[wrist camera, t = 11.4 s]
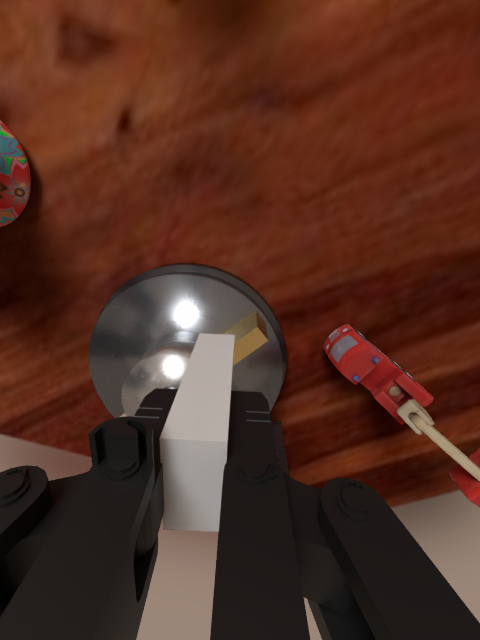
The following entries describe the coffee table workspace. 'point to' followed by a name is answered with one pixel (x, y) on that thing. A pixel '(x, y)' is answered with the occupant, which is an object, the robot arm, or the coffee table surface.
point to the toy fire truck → (398, 398)
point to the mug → (12, 177)
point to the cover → (158, 368)
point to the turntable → (189, 316)
